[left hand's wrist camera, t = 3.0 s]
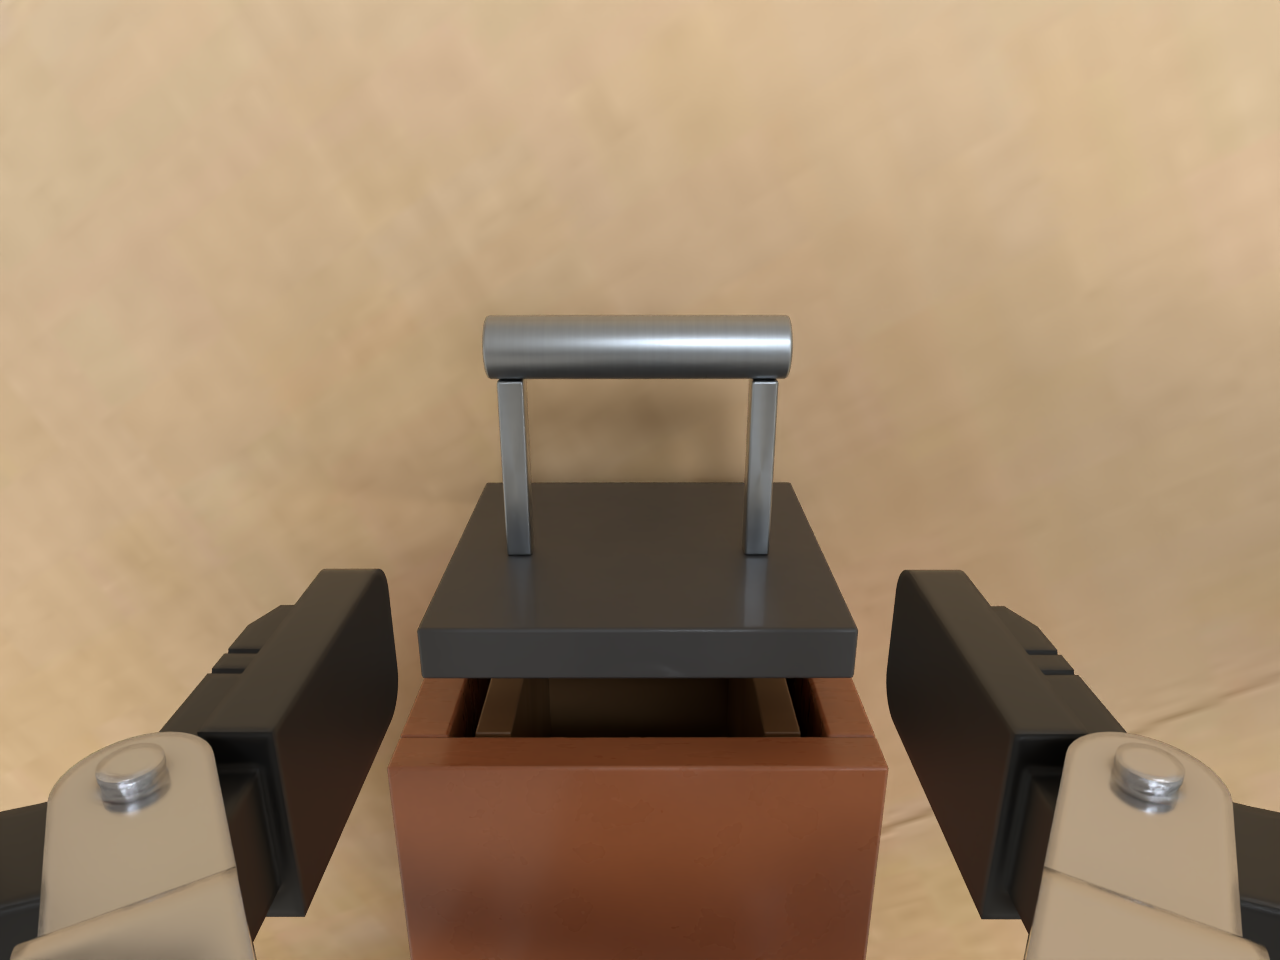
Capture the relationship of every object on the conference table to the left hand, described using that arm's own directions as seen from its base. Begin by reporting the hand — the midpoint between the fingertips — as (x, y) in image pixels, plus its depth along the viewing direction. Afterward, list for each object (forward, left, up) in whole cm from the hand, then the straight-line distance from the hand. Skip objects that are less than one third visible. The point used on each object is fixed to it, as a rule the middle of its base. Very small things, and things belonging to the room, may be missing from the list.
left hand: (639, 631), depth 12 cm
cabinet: (-10, +12, -15) cm, 22 cm away
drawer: (-6, +7, -14) cm, 17 cm away
